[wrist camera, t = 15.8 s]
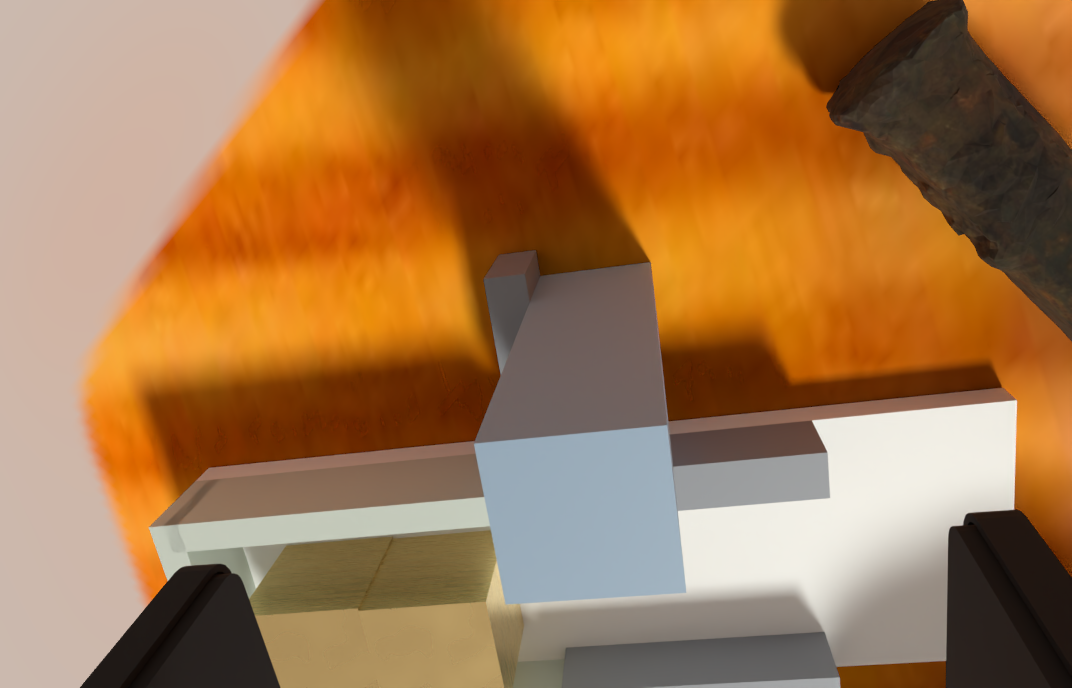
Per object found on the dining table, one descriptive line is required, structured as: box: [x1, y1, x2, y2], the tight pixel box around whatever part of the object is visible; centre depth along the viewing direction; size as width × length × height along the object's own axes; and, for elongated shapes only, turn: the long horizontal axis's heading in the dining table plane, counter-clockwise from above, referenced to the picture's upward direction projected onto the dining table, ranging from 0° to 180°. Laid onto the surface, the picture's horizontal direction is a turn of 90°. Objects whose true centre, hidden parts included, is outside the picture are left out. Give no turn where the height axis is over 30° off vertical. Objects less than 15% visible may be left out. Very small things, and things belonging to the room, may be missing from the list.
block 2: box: [359, 530, 524, 688], centre depth 27 cm, size 4×4×4 cm
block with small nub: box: [474, 250, 686, 605], centre depth 21 cm, size 5×5×12 cm
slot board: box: [149, 388, 1017, 688], centre depth 28 cm, size 10×27×4 cm, turn 99°
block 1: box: [249, 536, 394, 688], centre depth 28 cm, size 4×4×4 cm
